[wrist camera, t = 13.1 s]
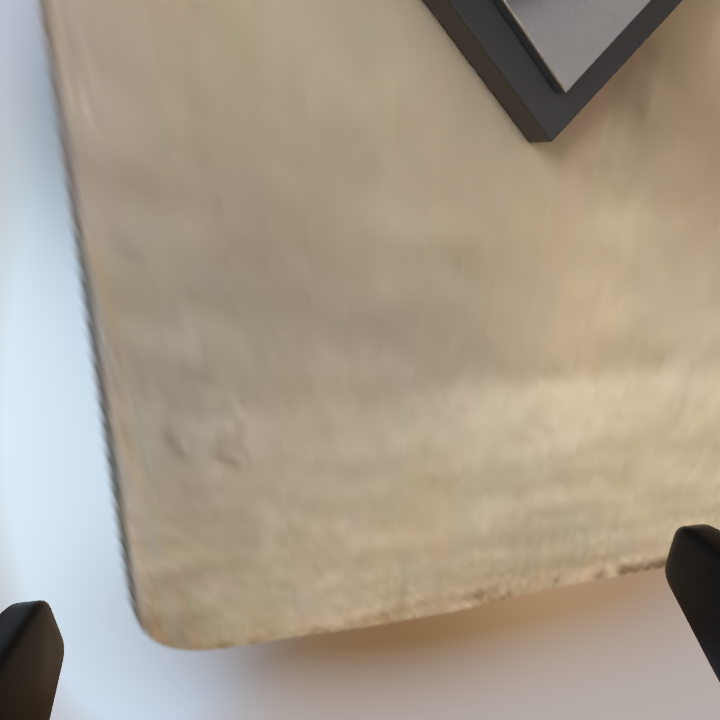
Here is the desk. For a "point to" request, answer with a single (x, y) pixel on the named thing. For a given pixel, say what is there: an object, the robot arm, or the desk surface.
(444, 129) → the desk surface
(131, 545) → the desk surface
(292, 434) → the desk surface
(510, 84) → the scale
